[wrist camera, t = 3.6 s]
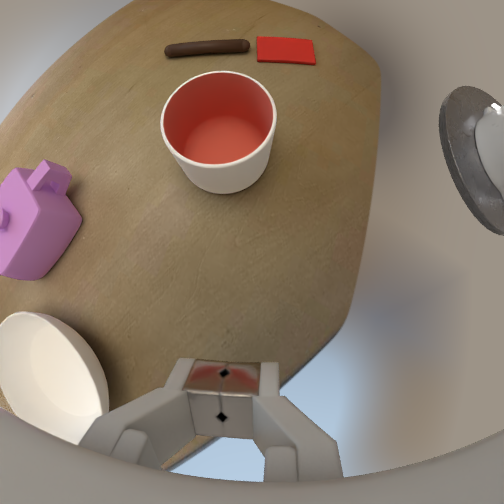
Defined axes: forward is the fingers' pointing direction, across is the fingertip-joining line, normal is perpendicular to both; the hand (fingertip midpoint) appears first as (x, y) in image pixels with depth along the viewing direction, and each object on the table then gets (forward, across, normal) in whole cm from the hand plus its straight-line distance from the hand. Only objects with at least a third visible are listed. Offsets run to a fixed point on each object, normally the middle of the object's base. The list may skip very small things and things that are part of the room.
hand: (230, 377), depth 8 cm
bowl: (+18, +26, +17) cm, 35 cm away
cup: (+27, +4, -9) cm, 28 cm away
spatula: (+31, +2, -26) cm, 40 cm away
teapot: (+22, +29, -2) cm, 37 cm away
